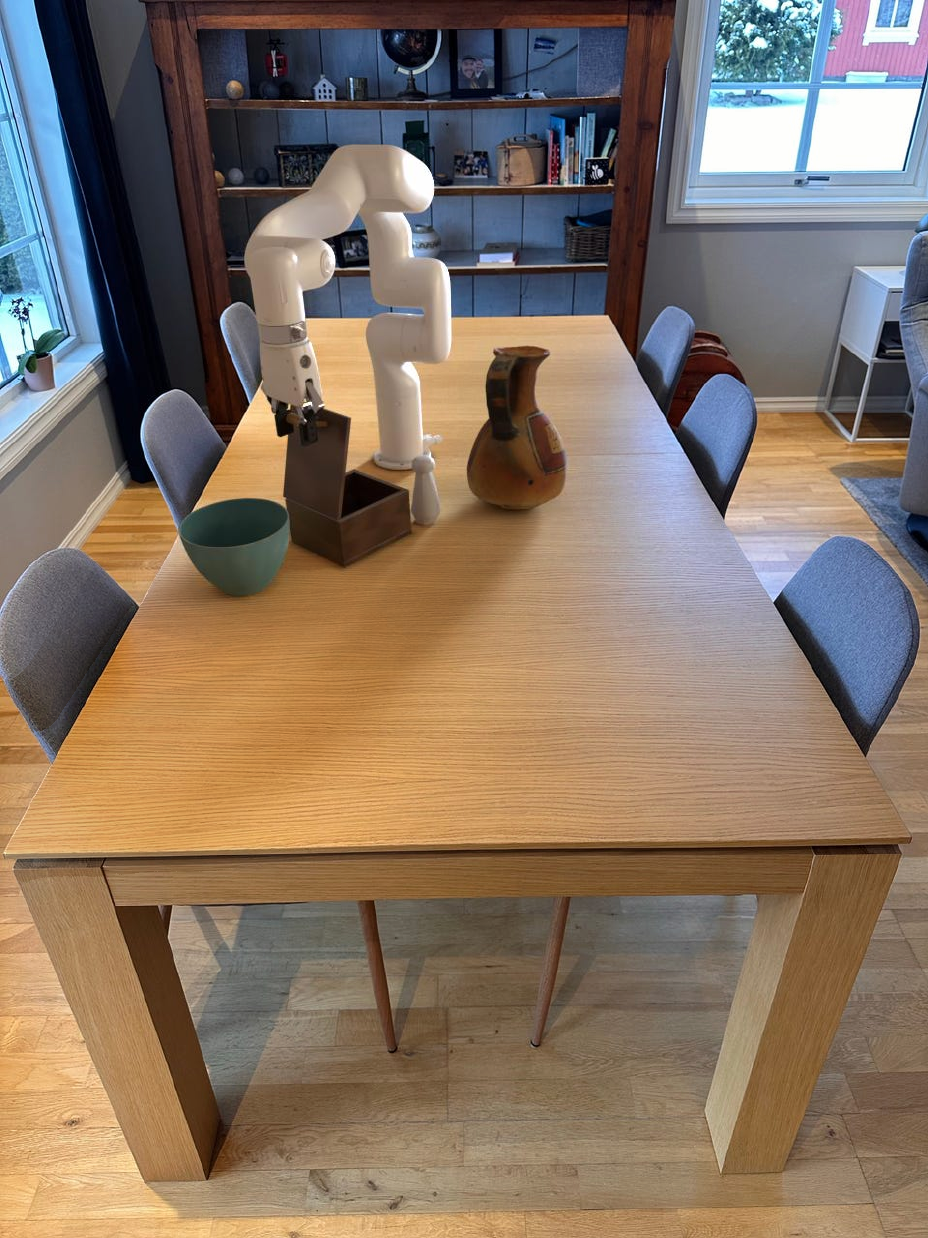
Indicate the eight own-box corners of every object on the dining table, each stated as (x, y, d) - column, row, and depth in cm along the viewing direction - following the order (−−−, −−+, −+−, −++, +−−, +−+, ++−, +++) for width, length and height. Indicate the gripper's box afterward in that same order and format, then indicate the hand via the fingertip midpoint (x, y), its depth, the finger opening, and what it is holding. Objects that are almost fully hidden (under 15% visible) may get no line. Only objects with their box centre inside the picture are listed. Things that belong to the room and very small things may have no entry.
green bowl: (207, 623, 150) (192, 557, 144) (181, 574, 164) (167, 512, 157) (312, 594, 157) (303, 530, 150) (279, 549, 171) (269, 489, 164)
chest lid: (294, 398, 162) (269, 398, 158) (351, 417, 153) (326, 418, 149) (286, 496, 168) (262, 499, 164) (340, 520, 159) (316, 523, 156)
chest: (358, 510, 183) (354, 468, 178) (411, 533, 175) (408, 489, 170) (291, 542, 173) (284, 498, 168) (344, 567, 164) (339, 522, 159)
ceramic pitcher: (579, 485, 190) (585, 340, 174) (544, 528, 175) (548, 373, 158) (492, 471, 197) (490, 330, 181) (451, 510, 182) (445, 361, 166)
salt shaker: (445, 515, 180) (443, 453, 173) (435, 529, 176) (432, 465, 169) (417, 512, 182) (414, 450, 175) (407, 525, 177) (402, 462, 170)
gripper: (336, 335, 143) (348, 444, 153) (268, 317, 153) (283, 420, 163) (299, 347, 139) (313, 459, 149) (230, 327, 148) (248, 433, 158)
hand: (297, 438), depth 156 cm, fingers closed on chest lid, 5 cm apart
